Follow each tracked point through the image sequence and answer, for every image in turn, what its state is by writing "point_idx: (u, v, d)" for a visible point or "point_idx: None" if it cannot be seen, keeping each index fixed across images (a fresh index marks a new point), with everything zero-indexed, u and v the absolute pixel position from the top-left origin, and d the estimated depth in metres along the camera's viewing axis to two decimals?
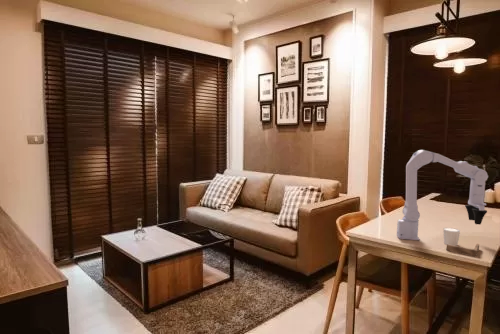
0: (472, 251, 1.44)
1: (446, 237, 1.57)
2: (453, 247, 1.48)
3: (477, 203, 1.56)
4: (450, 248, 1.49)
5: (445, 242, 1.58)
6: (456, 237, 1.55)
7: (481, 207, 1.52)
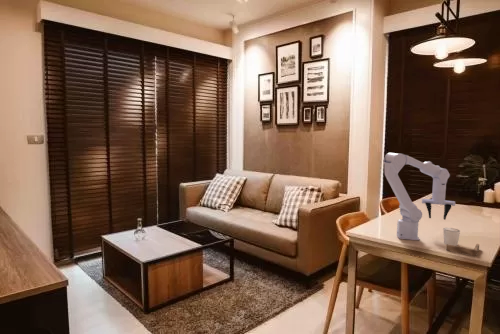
0: (472, 251, 1.44)
1: (446, 237, 1.57)
2: (453, 247, 1.48)
3: None
4: (450, 248, 1.49)
5: (445, 242, 1.58)
6: (456, 237, 1.55)
7: None
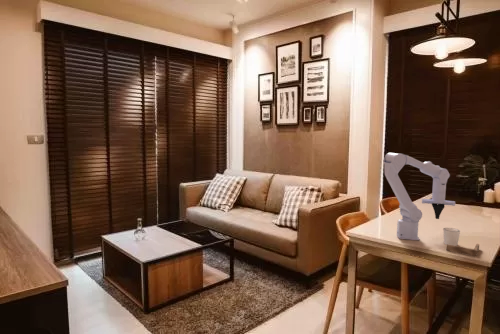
0: (472, 251, 1.44)
1: (446, 237, 1.57)
2: (453, 247, 1.48)
3: None
4: (450, 248, 1.49)
5: (445, 242, 1.58)
6: (456, 237, 1.55)
7: None
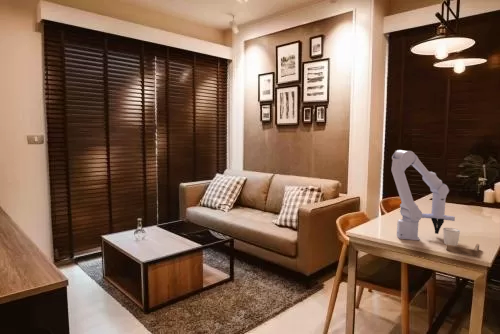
0: (472, 251, 1.44)
1: (446, 237, 1.57)
2: (453, 247, 1.48)
3: None
4: (450, 248, 1.49)
5: (445, 242, 1.58)
6: (456, 237, 1.55)
7: None
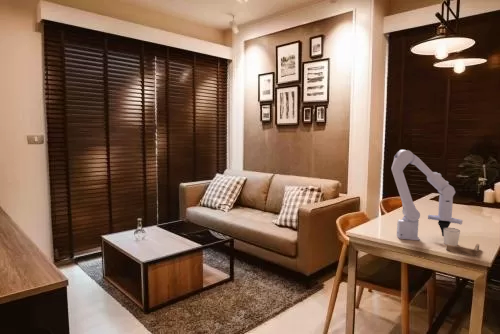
0: (472, 251, 1.44)
1: (446, 237, 1.57)
2: (453, 247, 1.48)
3: None
4: (450, 248, 1.49)
5: (445, 242, 1.58)
6: (456, 237, 1.55)
7: None
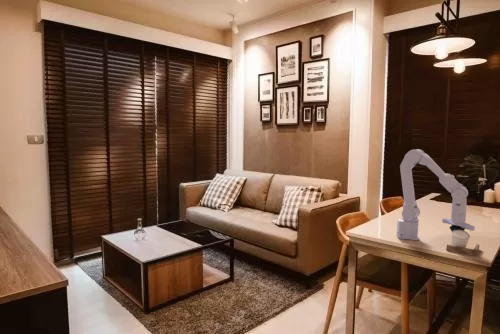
0: (472, 251, 1.44)
1: (453, 241, 1.51)
2: (453, 247, 1.48)
3: None
4: (450, 248, 1.49)
5: None
6: (463, 244, 1.48)
7: None
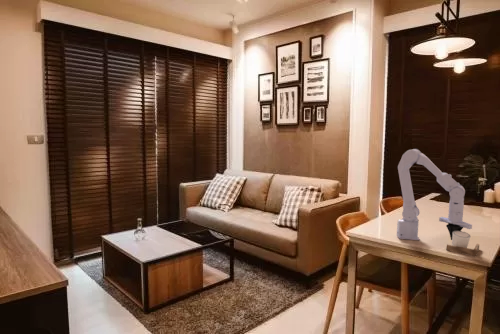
0: (472, 251, 1.44)
1: (454, 241, 1.51)
2: (453, 247, 1.48)
3: None
4: (450, 248, 1.49)
5: None
6: (464, 243, 1.48)
7: None
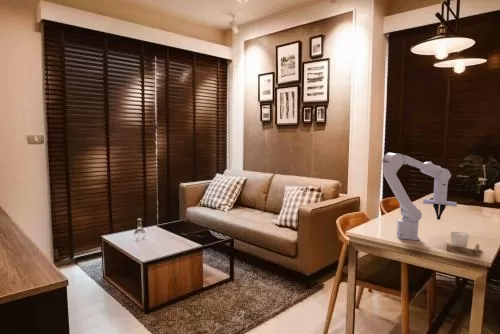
0: (472, 251, 1.44)
1: (453, 241, 1.51)
2: (453, 247, 1.48)
3: None
4: (450, 248, 1.49)
5: None
6: (463, 242, 1.49)
7: (423, 200, 1.70)
